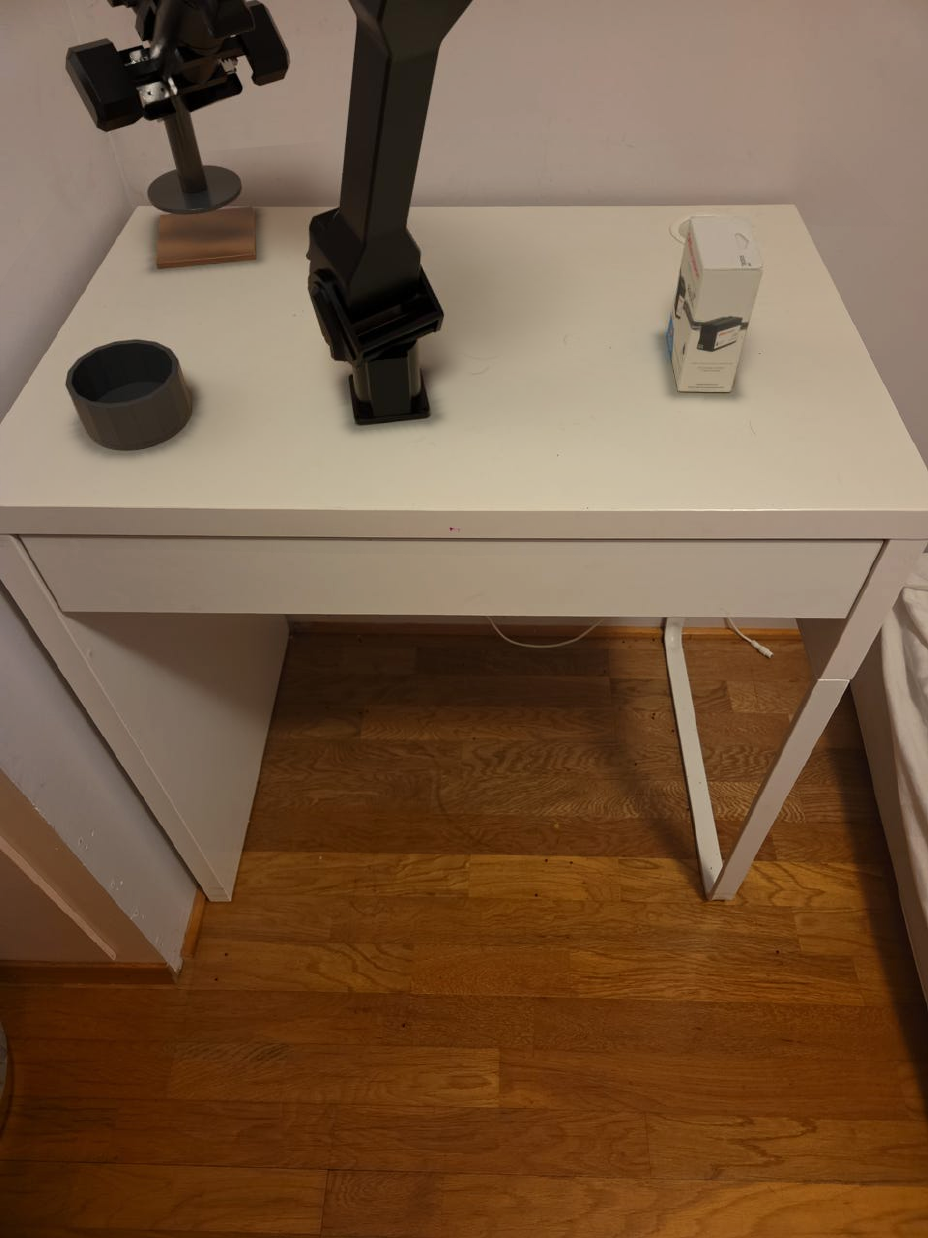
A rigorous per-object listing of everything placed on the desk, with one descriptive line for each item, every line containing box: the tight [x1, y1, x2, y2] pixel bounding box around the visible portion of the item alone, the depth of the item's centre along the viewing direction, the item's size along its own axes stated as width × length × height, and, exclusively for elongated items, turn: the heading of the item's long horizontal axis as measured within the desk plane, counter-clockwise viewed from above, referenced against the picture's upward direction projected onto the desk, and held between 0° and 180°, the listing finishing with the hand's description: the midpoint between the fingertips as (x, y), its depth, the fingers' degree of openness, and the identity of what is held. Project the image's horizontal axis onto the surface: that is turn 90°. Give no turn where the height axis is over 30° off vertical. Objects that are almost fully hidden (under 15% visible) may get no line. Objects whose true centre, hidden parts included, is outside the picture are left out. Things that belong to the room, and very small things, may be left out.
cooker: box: [64, 338, 193, 451], centre depth 75 cm, size 9×9×4 cm
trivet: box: [155, 206, 257, 270], centre depth 95 cm, size 10×10×1 cm
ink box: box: [666, 215, 764, 393], centre depth 76 cm, size 8×5×12 cm, turn 178°
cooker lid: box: [146, 89, 243, 215], centre depth 87 cm, size 9×9×10 cm
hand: (171, 112), depth 86 cm, fingers closed on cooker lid, 2 cm apart
